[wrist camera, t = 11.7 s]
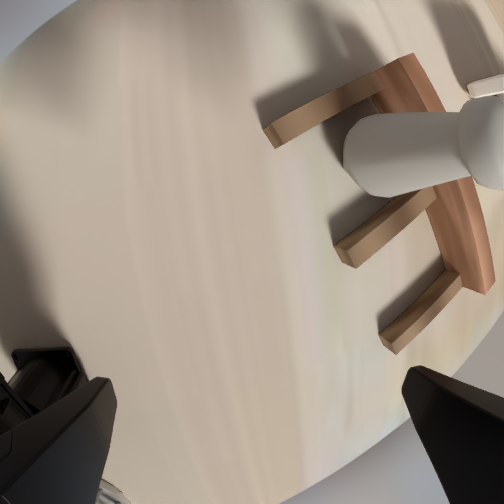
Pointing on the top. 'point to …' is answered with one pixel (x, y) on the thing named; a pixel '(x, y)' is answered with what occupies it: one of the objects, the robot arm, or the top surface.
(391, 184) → the salt shaker
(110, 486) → the grey lattice tower
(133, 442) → the top surface
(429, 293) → the wooden letter e
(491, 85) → the cable organizer
